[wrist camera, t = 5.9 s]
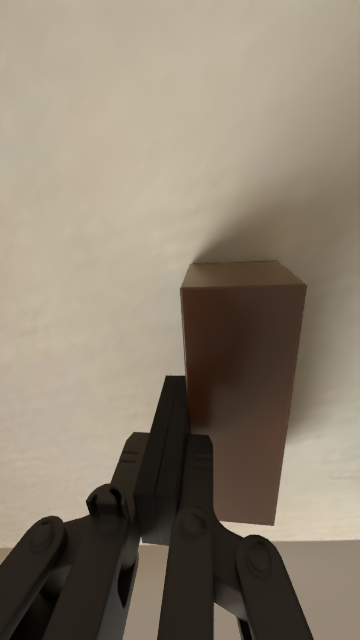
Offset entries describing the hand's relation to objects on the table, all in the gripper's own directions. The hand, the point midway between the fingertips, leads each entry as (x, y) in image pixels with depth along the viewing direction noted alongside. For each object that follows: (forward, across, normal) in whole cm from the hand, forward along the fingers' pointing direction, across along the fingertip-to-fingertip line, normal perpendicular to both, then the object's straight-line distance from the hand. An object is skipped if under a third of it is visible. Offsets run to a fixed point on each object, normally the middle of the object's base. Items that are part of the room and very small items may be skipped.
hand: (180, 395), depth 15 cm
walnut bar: (+2, +3, 0) cm, 4 cm away
